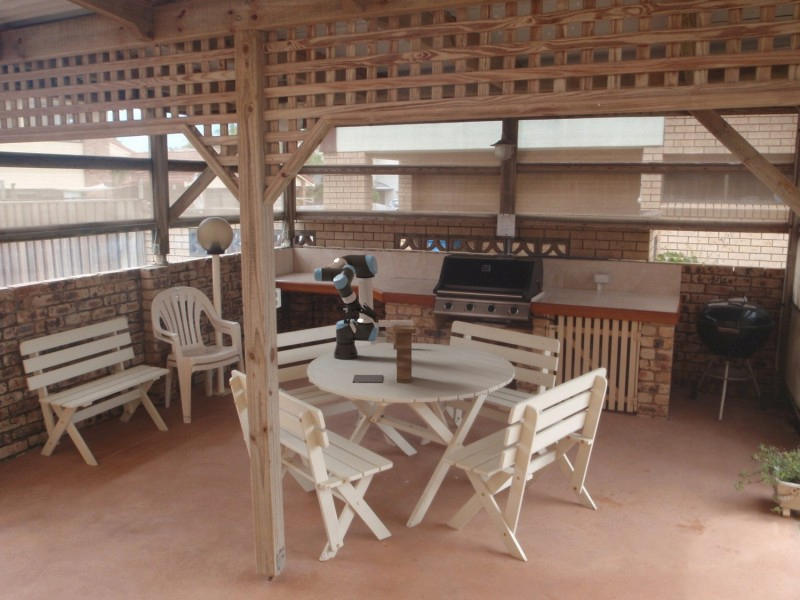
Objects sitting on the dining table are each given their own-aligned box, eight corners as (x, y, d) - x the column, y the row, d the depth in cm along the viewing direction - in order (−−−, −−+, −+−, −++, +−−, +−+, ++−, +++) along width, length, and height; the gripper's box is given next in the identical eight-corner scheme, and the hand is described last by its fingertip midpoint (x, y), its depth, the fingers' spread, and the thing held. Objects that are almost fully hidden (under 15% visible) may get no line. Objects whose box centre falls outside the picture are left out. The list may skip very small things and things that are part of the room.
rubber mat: (354, 375, 388) (354, 374, 388) (382, 375, 388) (382, 374, 388) (352, 382, 374) (352, 381, 374) (381, 382, 374) (381, 381, 374)
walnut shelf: (393, 375, 389) (393, 323, 384) (414, 375, 389) (415, 323, 384) (392, 383, 373) (392, 328, 368) (415, 383, 373) (415, 329, 368)
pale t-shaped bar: (378, 324, 379) (378, 319, 379) (413, 325, 379) (413, 319, 379) (378, 327, 373) (378, 321, 373) (413, 327, 373) (413, 321, 373)
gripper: (328, 308, 378) (344, 337, 389) (369, 299, 369) (384, 328, 380) (332, 300, 384) (347, 328, 395) (372, 290, 375) (387, 320, 386)
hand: (366, 328), depth 388 cm, fingers open, 13 cm apart
